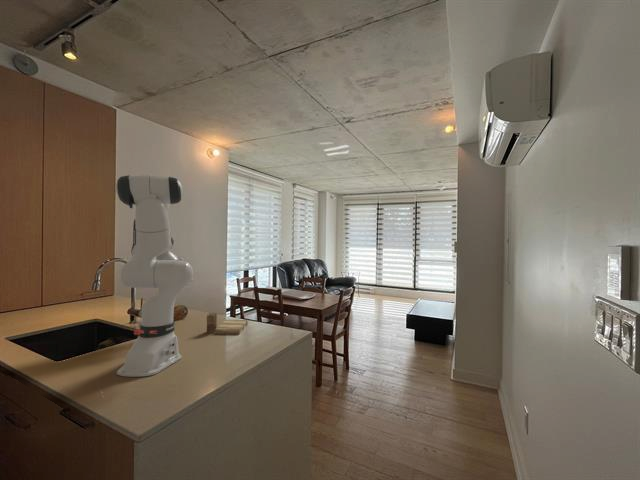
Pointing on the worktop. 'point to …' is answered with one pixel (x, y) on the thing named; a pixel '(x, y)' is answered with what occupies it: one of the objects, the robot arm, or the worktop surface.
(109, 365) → the worktop surface
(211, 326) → the block
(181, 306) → the brown flat oval piece
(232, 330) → the board
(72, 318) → the worktop surface
